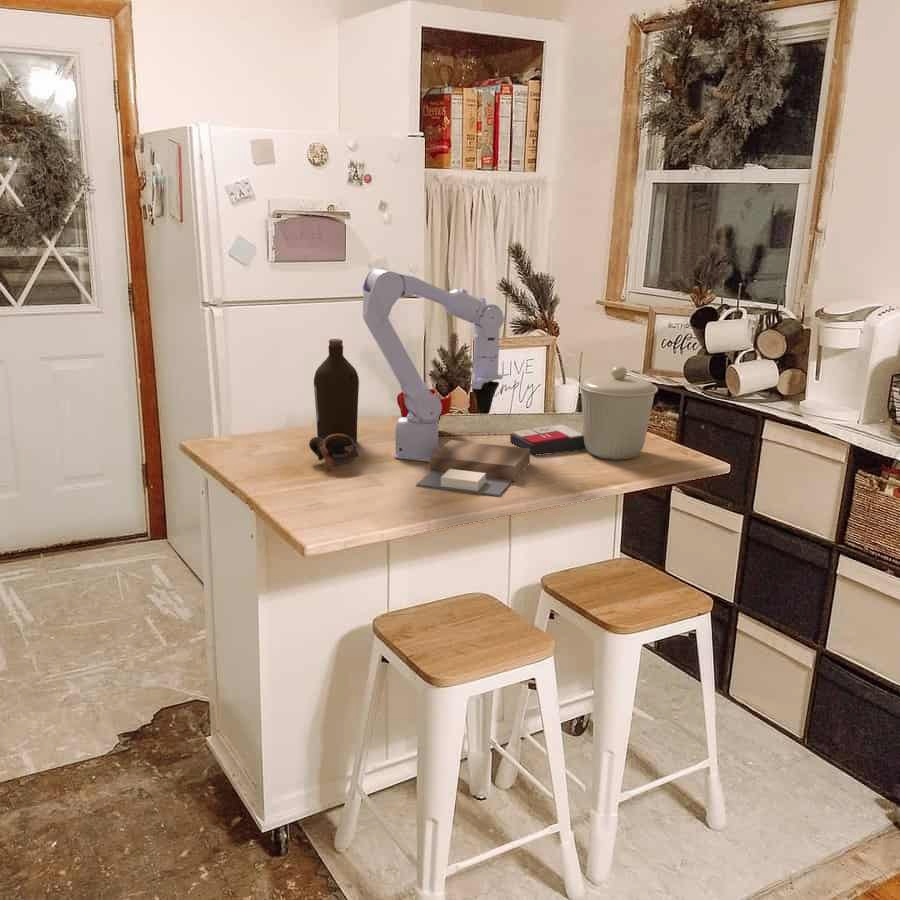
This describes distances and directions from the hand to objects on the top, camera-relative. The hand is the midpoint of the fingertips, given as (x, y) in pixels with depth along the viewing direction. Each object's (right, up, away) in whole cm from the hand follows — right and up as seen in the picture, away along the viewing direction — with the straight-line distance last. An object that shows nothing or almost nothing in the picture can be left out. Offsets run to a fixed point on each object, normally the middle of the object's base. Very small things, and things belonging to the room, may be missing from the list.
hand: (484, 413), depth 209 cm
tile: (-5, -14, -22) cm, 27 cm away
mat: (-5, -16, -20) cm, 26 cm away
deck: (-1, -13, -9) cm, 16 cm away
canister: (+31, -10, +3) cm, 32 cm away
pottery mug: (-34, -12, -9) cm, 37 cm away
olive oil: (-35, -7, +8) cm, 37 cm away
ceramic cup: (-16, -4, +19) cm, 25 cm away
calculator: (+16, -8, +8) cm, 20 cm away
